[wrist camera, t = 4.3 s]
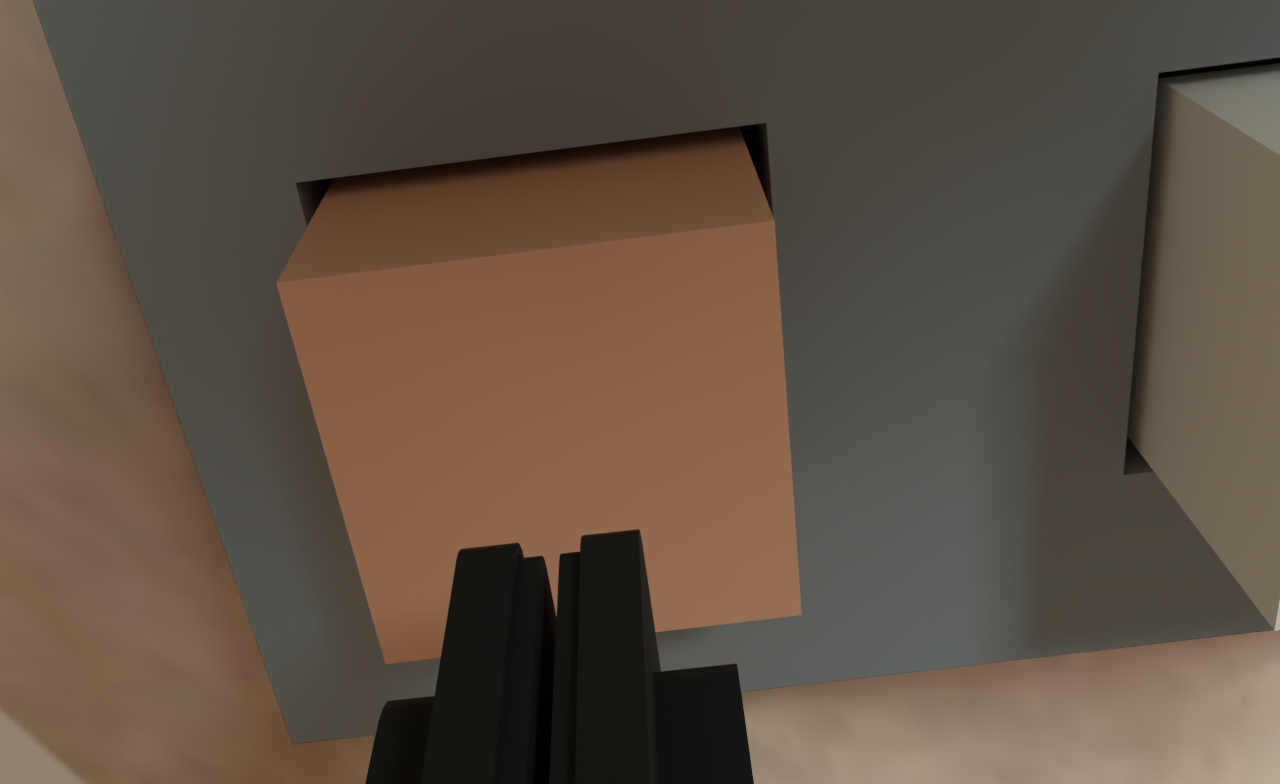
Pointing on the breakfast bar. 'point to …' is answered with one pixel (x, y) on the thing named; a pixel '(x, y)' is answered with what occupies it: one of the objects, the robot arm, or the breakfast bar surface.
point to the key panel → (808, 284)
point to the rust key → (553, 374)
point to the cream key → (1215, 317)
